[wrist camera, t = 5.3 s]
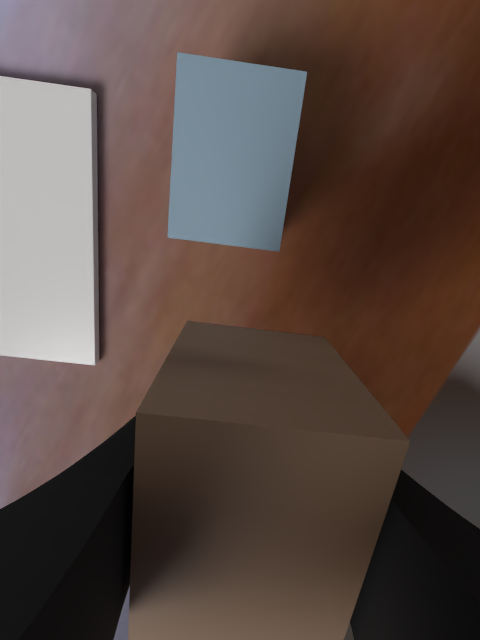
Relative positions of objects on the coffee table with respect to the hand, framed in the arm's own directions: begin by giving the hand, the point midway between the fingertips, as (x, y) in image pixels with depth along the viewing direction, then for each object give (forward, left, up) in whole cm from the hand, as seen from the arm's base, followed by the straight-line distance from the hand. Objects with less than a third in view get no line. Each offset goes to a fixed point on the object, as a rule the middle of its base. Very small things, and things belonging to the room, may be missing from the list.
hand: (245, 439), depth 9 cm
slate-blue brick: (+8, +1, -10) cm, 13 cm away
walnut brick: (0, 0, -2) cm, 2 cm away
